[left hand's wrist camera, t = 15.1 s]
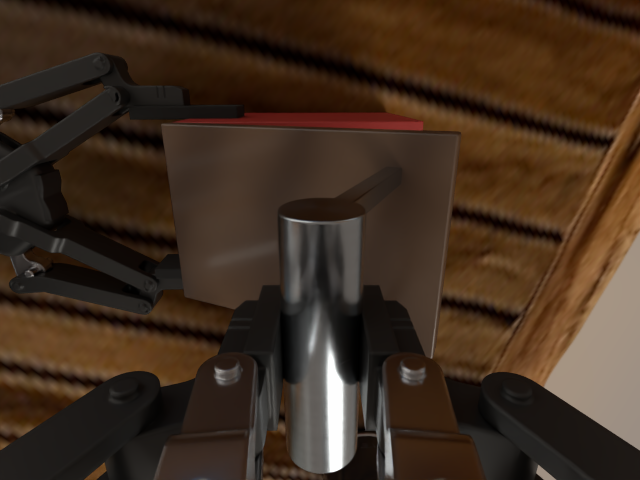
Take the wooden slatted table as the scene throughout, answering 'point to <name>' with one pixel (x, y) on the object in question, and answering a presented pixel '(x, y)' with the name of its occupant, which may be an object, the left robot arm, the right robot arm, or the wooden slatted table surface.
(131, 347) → the wooden slatted table surface
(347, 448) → the lid
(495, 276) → the wooden slatted table surface
